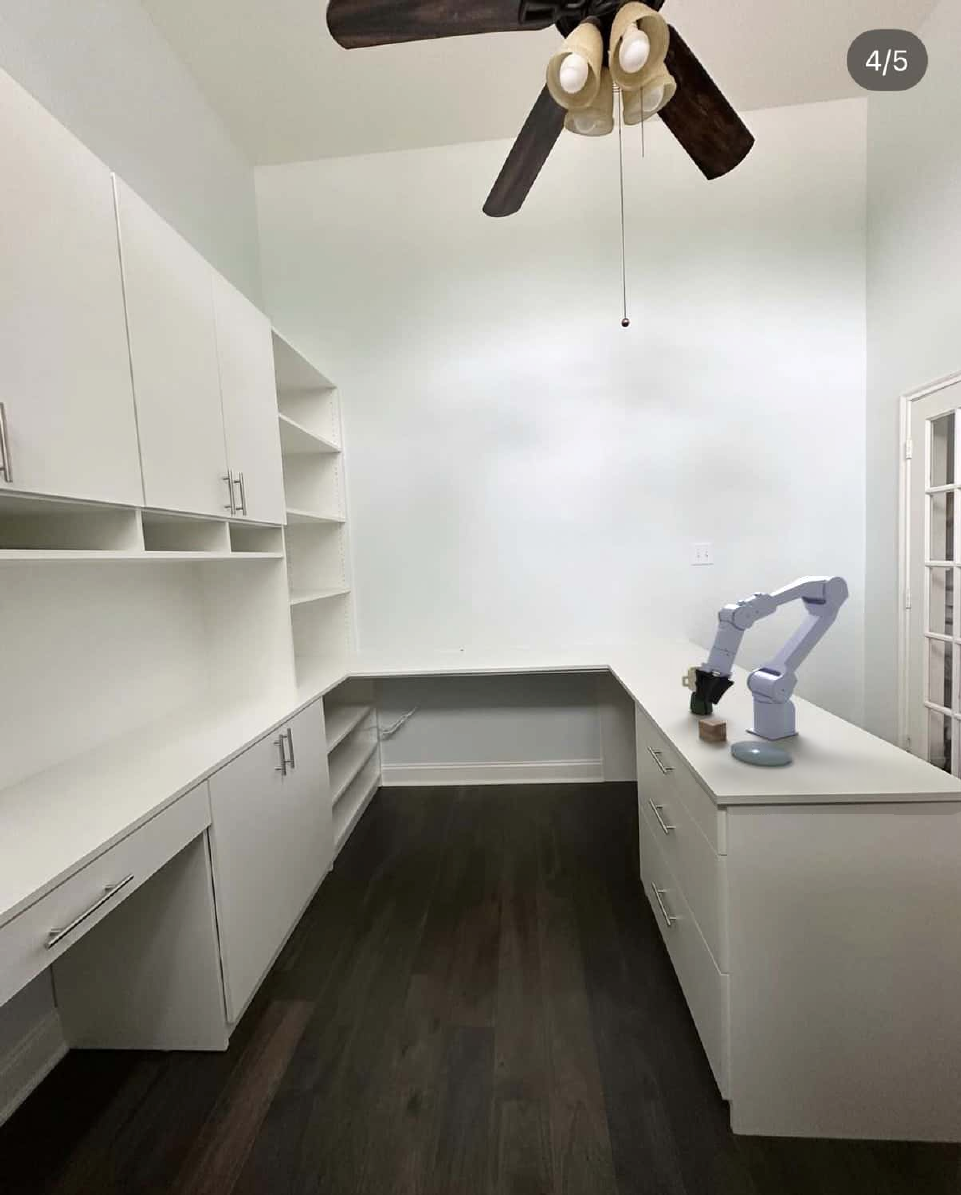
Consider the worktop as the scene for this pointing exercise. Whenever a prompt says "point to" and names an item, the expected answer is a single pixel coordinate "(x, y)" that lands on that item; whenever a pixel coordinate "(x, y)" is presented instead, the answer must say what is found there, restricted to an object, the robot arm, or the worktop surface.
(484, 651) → the worktop surface
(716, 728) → the walnut block
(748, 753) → the slate dish
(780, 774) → the worktop surface
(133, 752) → the worktop surface
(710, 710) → the character mug
